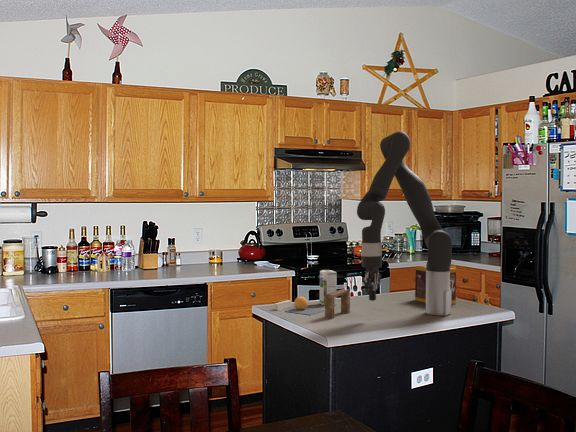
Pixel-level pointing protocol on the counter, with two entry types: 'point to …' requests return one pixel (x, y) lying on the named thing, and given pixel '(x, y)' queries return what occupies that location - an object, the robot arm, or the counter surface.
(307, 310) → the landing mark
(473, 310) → the counter surface
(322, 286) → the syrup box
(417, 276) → the supplement box
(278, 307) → the beige thin bar
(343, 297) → the bridge
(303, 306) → the ball
